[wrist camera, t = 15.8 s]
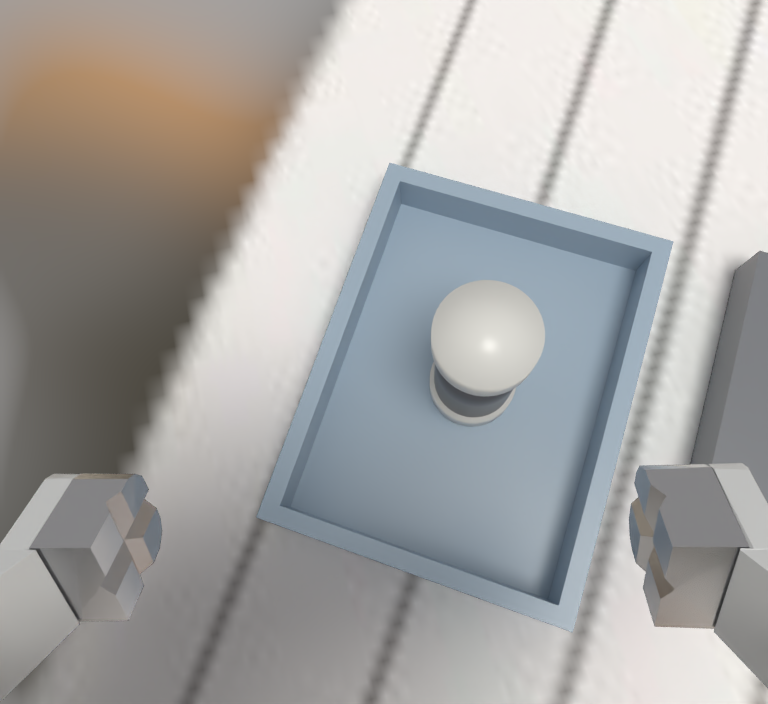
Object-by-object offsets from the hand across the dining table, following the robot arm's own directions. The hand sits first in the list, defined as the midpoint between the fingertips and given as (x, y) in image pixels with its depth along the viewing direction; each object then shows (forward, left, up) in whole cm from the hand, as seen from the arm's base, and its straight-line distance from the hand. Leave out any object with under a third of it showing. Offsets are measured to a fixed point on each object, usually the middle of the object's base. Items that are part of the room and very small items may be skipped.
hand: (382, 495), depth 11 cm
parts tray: (+7, -1, -21) cm, 22 cm away
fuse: (+7, -1, -20) cm, 22 cm away
